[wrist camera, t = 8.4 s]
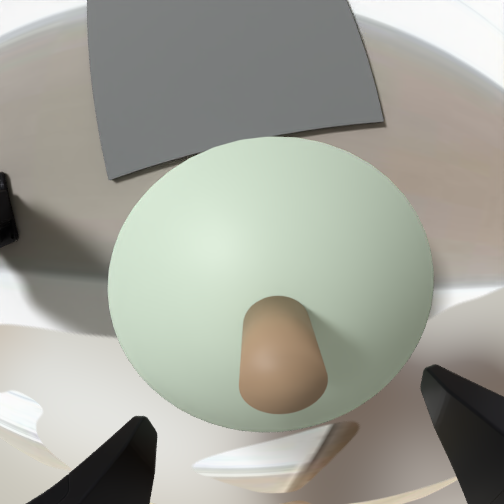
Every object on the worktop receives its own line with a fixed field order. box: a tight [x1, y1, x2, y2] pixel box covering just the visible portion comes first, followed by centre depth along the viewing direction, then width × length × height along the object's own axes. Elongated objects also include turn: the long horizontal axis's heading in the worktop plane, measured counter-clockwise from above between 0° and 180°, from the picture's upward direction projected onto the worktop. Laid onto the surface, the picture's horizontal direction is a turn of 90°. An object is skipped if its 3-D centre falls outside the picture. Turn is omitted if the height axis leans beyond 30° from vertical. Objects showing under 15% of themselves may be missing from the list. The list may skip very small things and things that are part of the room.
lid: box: [108, 137, 433, 432], centre depth 11 cm, size 16×16×5 cm
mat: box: [87, 0, 384, 180], centre depth 15 cm, size 19×19×1 cm
